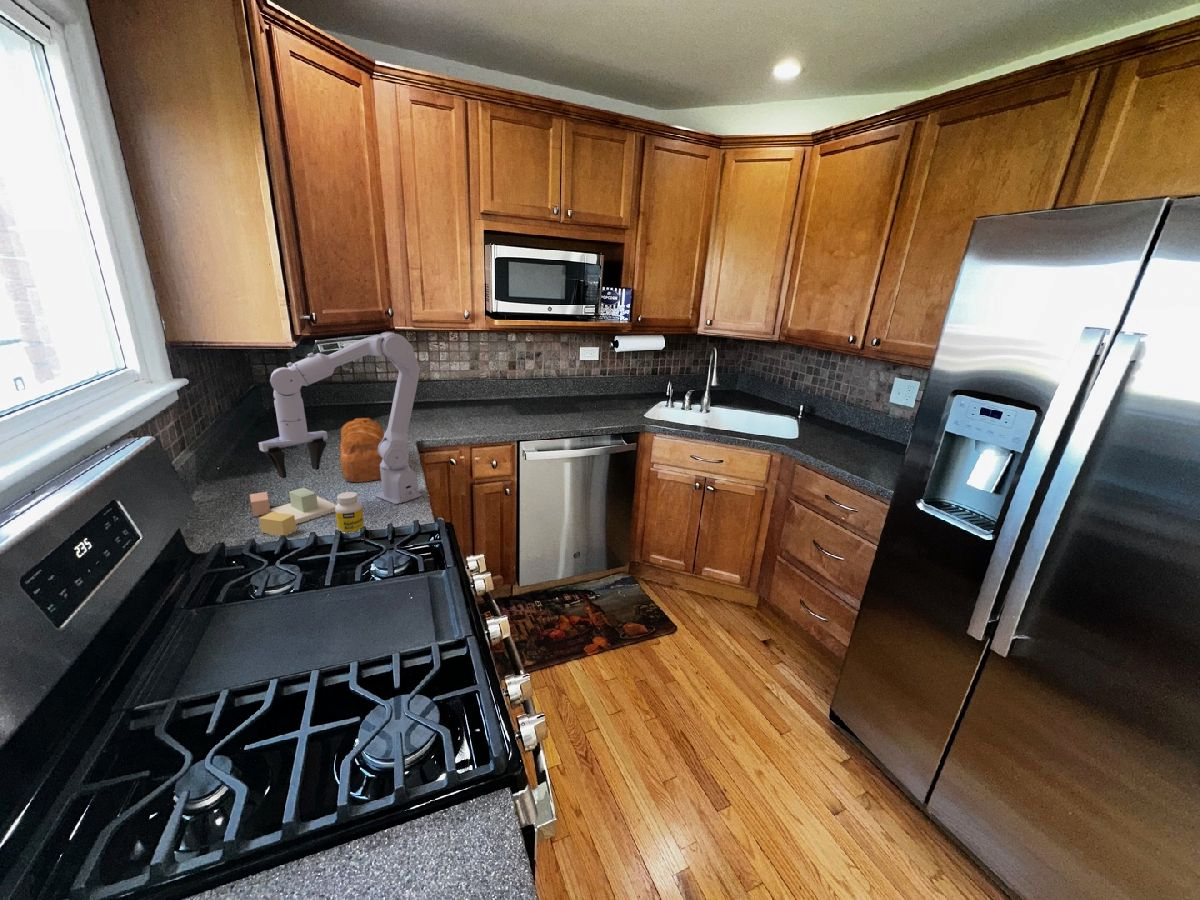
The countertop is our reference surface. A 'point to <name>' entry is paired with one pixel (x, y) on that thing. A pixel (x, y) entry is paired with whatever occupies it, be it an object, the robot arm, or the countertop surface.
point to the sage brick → (303, 500)
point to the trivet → (301, 517)
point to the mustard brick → (277, 523)
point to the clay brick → (260, 503)
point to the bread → (361, 450)
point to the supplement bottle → (349, 513)
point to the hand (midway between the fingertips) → (299, 472)
